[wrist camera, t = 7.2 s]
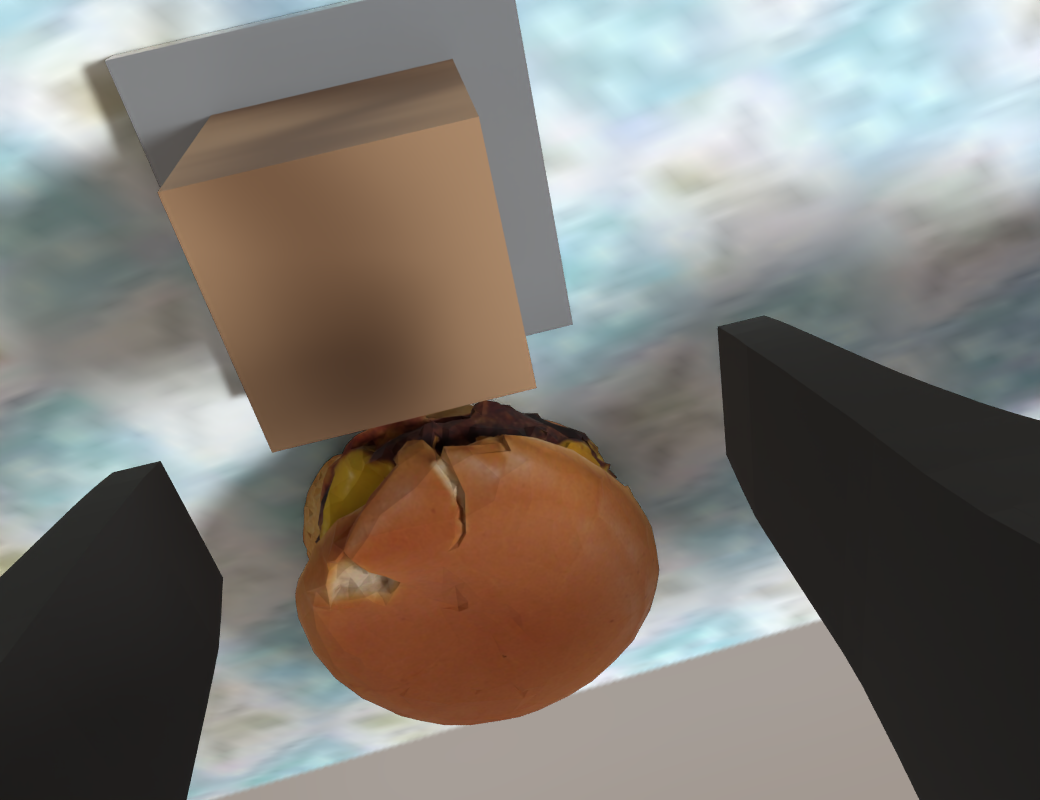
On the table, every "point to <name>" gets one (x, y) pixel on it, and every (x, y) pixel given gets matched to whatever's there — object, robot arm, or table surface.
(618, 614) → the burger
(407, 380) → the walnut cube
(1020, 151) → the table surface
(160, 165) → the slate coaster
